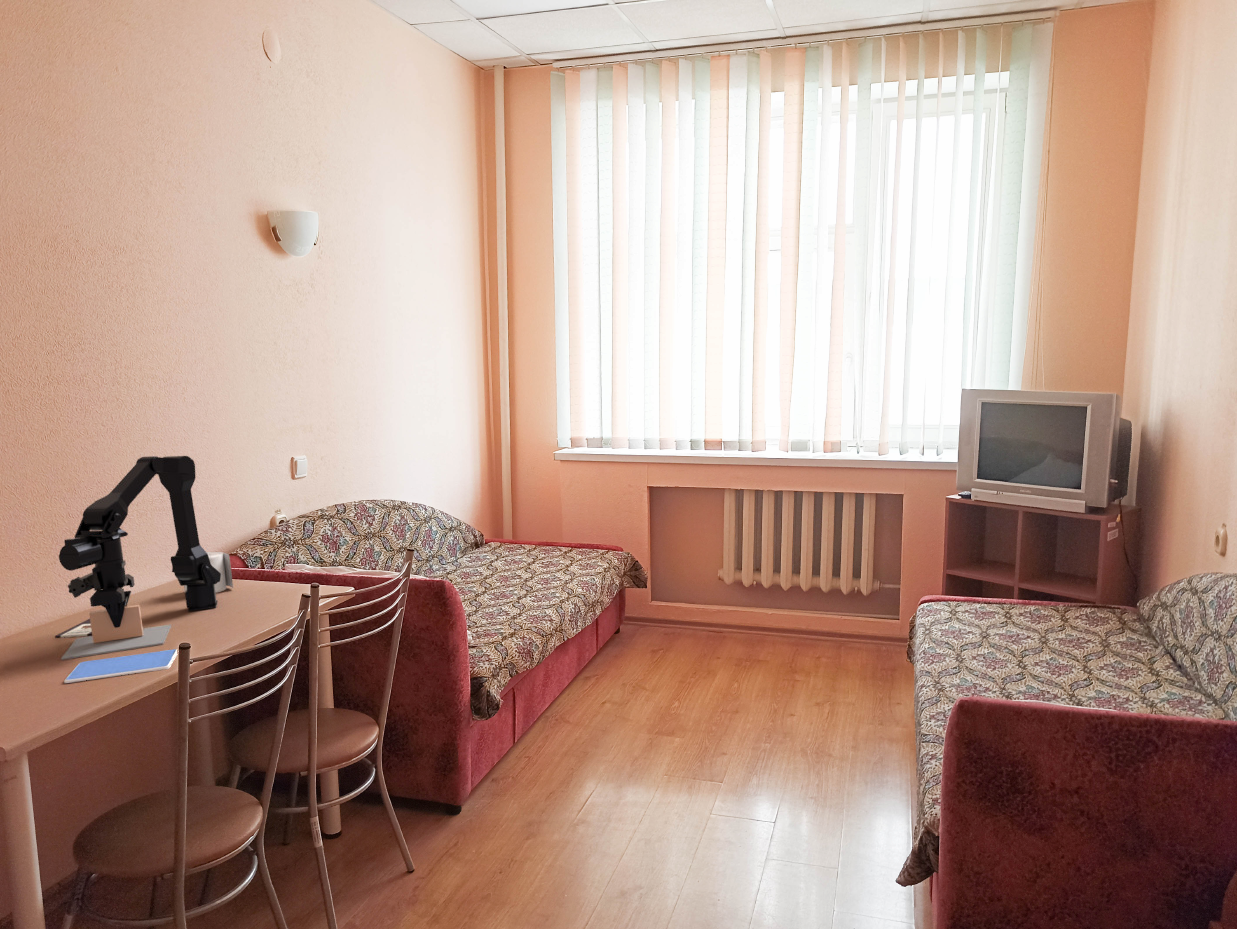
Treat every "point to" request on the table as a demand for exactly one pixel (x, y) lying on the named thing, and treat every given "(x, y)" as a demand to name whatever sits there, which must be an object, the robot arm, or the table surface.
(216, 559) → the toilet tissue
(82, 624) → the chocolate bar
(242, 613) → the table surface
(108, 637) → the tile
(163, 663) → the tablet computer
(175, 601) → the table surface
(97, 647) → the mat
